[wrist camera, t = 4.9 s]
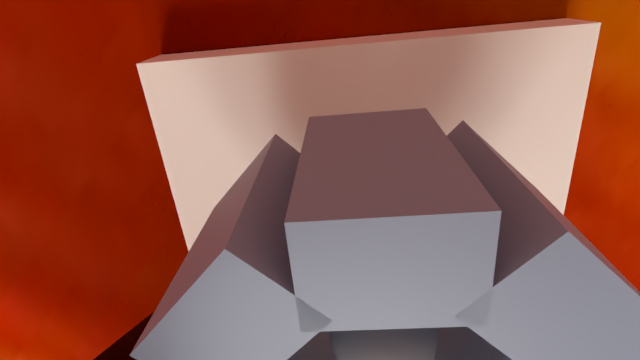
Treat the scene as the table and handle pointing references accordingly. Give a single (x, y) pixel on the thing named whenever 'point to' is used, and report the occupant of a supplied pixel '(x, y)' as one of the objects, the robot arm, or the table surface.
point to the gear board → (372, 96)
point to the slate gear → (391, 255)
